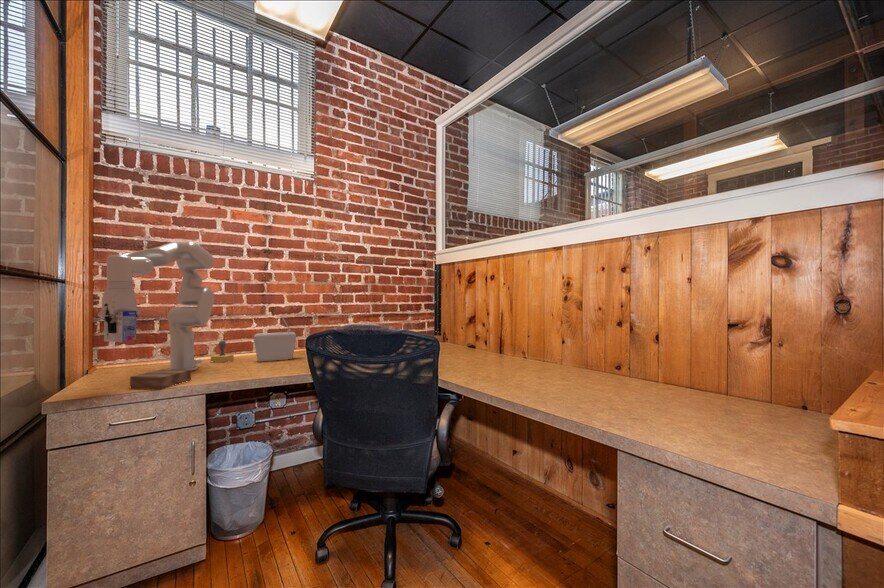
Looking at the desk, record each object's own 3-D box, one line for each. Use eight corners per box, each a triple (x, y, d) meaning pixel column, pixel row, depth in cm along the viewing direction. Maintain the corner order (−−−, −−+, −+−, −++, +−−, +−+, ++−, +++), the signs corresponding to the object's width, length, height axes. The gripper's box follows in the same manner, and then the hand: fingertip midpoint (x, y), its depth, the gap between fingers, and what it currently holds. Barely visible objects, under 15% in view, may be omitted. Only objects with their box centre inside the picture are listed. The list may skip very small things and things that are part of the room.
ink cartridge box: (138, 340, 142) (137, 304, 141) (122, 342, 136) (121, 305, 136) (119, 339, 144) (118, 304, 144) (103, 341, 139) (102, 305, 138)
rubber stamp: (233, 360, 201) (233, 339, 201) (227, 362, 196) (226, 341, 196) (217, 360, 202) (217, 339, 202) (210, 362, 196) (210, 341, 196)
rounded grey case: (295, 357, 212) (295, 315, 212) (296, 359, 204) (296, 316, 204) (254, 360, 202) (254, 316, 202) (253, 362, 194) (253, 317, 195)
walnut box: (162, 380, 155) (162, 369, 155) (190, 381, 153) (190, 370, 153) (130, 389, 142) (130, 376, 142) (161, 390, 140) (160, 377, 140)
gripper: (135, 286, 149) (135, 329, 149) (87, 286, 132) (88, 334, 132) (149, 286, 148) (150, 329, 148) (102, 286, 131) (103, 335, 131)
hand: (120, 331), depth 140 cm, fingers closed on ink cartridge box, 5 cm apart
